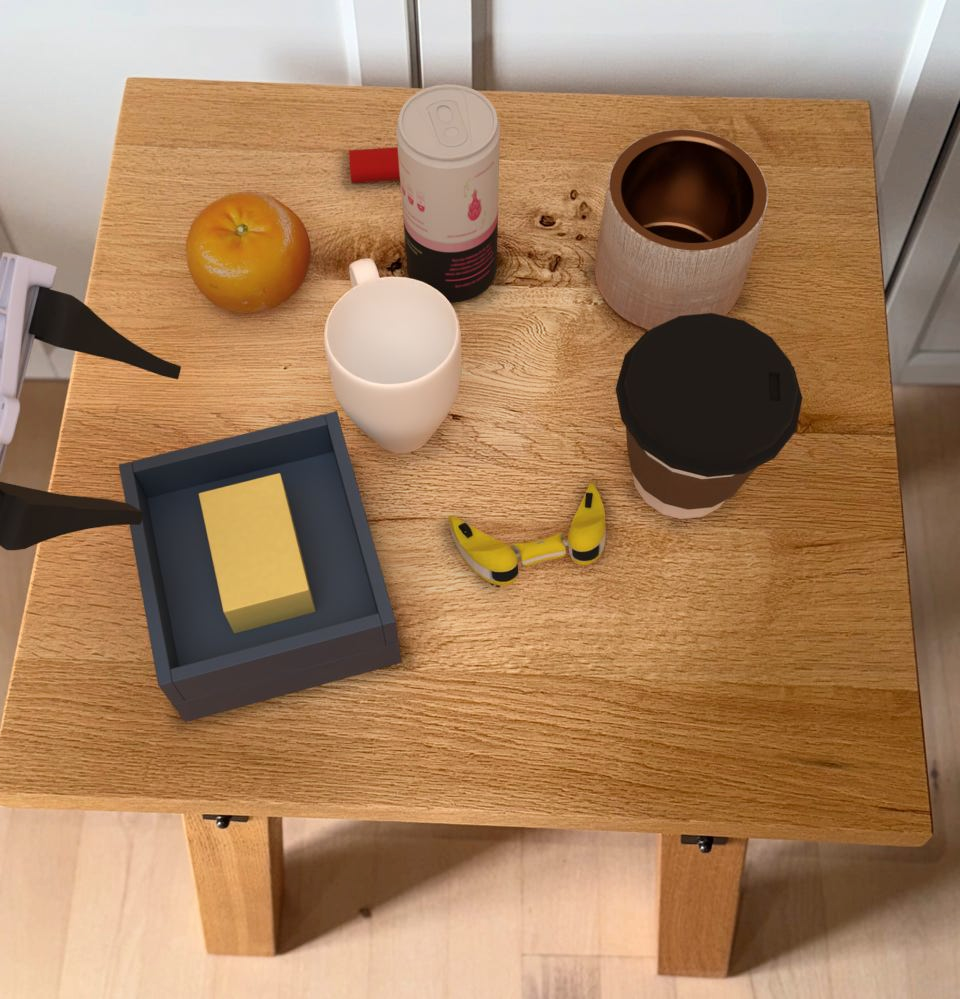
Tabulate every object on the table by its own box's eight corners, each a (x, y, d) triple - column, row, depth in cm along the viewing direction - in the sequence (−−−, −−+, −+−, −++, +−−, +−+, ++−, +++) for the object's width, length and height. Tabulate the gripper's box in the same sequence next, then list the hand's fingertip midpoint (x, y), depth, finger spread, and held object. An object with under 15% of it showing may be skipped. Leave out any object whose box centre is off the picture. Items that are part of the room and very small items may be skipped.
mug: (479, 459, 81) (479, 365, 71) (361, 494, 80) (344, 404, 70) (424, 321, 86) (417, 215, 76) (312, 352, 85) (290, 249, 75)
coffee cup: (760, 415, 83) (803, 312, 72) (764, 559, 78) (810, 471, 67) (602, 403, 83) (621, 298, 73) (595, 546, 78) (615, 456, 68)
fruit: (165, 308, 83) (203, 212, 78) (177, 246, 89) (213, 153, 84) (282, 350, 86) (325, 259, 81) (285, 286, 92) (325, 199, 87)
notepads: (234, 634, 72) (223, 612, 69) (209, 518, 75) (198, 492, 72) (316, 612, 72) (309, 589, 69) (287, 498, 76) (280, 472, 73)
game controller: (475, 611, 75) (469, 572, 73) (451, 545, 80) (445, 506, 78) (626, 573, 76) (625, 533, 74) (594, 510, 81) (592, 470, 79)
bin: (185, 722, 73) (157, 685, 67) (146, 515, 79) (118, 464, 73) (402, 662, 75) (395, 621, 68) (347, 464, 81) (336, 410, 75)
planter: (683, 198, 92) (705, 104, 83) (771, 297, 88) (804, 209, 79) (564, 257, 89) (574, 167, 81) (649, 362, 85) (669, 278, 76)
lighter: (348, 146, 92) (452, 139, 93) (350, 158, 93) (452, 151, 94) (350, 174, 91) (455, 167, 91) (351, 186, 92) (455, 179, 93)
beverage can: (483, 227, 90) (485, 73, 77) (506, 296, 88) (512, 148, 74) (398, 245, 90) (385, 92, 76) (419, 315, 87) (409, 169, 73)
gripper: (-144, 567, 50) (151, 599, 60) (-62, 229, 49) (225, 314, 59) (-183, 526, 56) (94, 561, 65) (-110, 219, 55) (161, 299, 64)
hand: (152, 442), depth 62 cm, fingers open, 7 cm apart
